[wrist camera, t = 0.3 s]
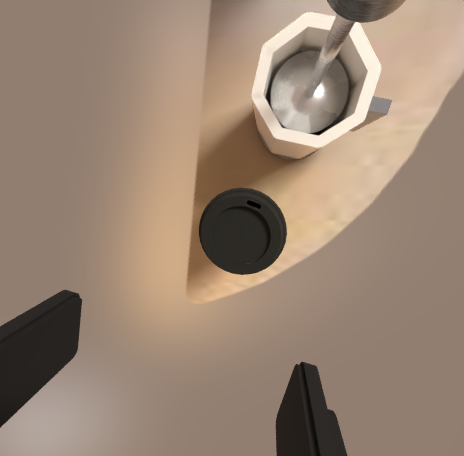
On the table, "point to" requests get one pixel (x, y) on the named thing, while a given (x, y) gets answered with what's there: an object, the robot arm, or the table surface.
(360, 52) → the coffee press
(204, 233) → the coffee cup
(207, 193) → the table surface
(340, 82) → the plunger
